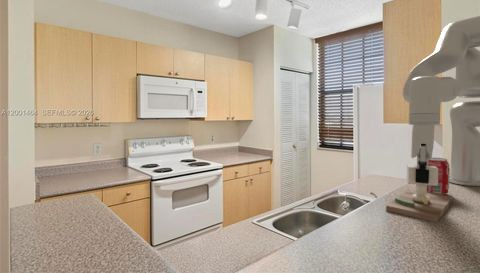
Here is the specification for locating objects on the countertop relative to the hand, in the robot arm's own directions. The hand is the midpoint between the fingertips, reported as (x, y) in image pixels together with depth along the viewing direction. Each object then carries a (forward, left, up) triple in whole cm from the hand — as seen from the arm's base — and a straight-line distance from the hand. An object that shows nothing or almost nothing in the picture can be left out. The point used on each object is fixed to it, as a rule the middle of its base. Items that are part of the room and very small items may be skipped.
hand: (422, 180), depth 79 cm
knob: (+1, +2, -6) cm, 7 cm away
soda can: (-12, -14, -8) cm, 20 cm away
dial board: (0, 0, -8) cm, 8 cm away
